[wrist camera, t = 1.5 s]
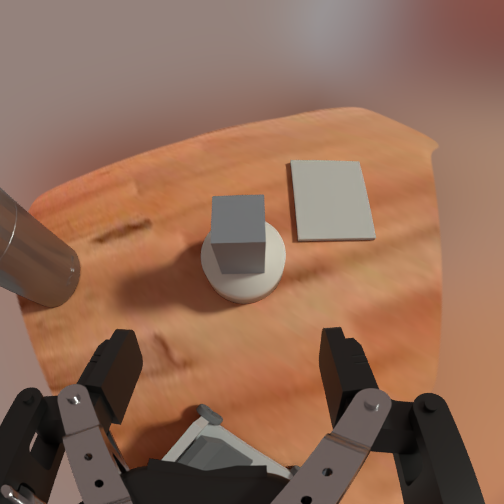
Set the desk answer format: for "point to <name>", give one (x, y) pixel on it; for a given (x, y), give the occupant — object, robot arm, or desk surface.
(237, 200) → the cap block
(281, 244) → the white round part
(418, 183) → the desk surface
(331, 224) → the rubber mat
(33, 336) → the desk surface
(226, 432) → the toy car
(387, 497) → the desk surface
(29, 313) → the desk surface
